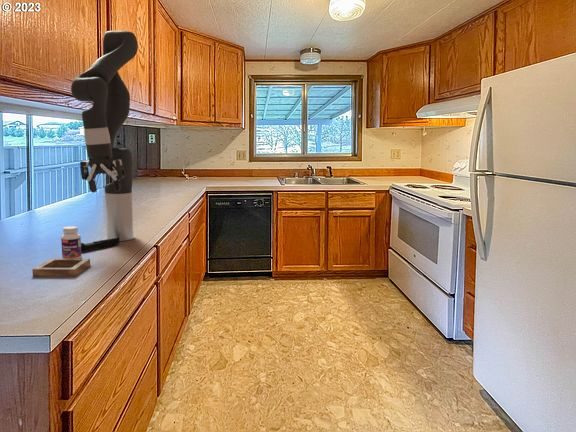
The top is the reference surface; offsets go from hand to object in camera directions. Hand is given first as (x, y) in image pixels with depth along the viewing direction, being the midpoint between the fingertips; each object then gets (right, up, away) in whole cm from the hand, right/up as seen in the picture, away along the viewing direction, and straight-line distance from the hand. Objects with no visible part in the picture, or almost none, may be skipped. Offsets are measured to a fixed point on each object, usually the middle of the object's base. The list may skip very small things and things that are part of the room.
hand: (105, 191), depth 151 cm
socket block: (-3, -23, -23) cm, 33 cm away
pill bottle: (-7, -21, -10) cm, 24 cm away
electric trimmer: (-4, -19, +3) cm, 20 cm away
